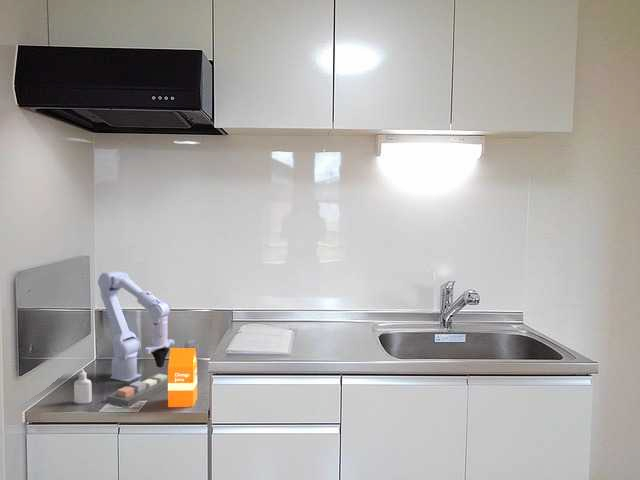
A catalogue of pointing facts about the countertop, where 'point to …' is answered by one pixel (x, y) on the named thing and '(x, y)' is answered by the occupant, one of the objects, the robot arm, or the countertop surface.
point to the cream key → (150, 382)
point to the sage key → (160, 377)
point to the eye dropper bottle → (82, 389)
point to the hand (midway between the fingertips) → (159, 366)
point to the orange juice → (182, 377)
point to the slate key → (138, 386)
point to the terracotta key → (125, 392)
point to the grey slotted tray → (138, 393)
